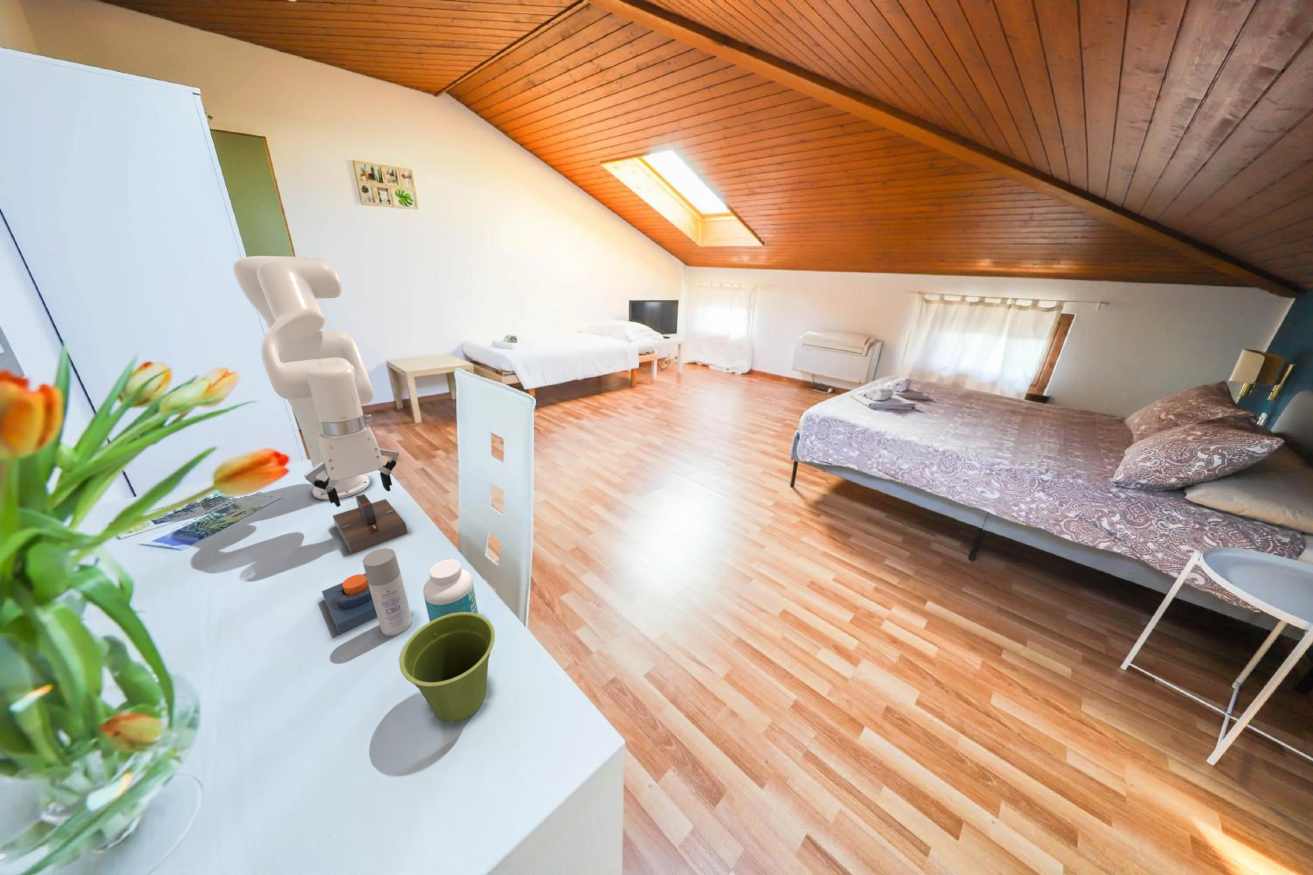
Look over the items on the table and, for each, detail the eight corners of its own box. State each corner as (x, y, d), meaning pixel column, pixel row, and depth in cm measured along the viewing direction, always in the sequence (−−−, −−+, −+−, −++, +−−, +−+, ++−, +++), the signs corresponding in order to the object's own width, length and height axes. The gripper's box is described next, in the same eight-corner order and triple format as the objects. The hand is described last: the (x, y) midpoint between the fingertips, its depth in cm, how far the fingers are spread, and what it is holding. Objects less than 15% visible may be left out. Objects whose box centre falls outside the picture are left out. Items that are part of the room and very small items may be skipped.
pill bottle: (485, 633, 74) (476, 571, 69) (439, 655, 70) (425, 591, 64) (472, 607, 79) (462, 548, 74) (428, 626, 75) (414, 564, 70)
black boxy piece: (360, 514, 99) (355, 495, 97) (369, 512, 101) (364, 492, 99) (367, 526, 96) (362, 506, 94) (377, 522, 97) (371, 503, 95)
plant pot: (395, 722, 60) (377, 665, 55) (458, 655, 70) (448, 602, 65) (462, 756, 56) (449, 698, 52) (519, 679, 66) (512, 626, 62)
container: (393, 640, 72) (374, 569, 66) (375, 630, 74) (355, 560, 68) (418, 621, 76) (402, 552, 70) (400, 611, 78) (383, 544, 72)
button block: (324, 600, 79) (318, 583, 78) (379, 577, 85) (375, 561, 84) (339, 635, 72) (333, 617, 71) (398, 607, 79) (393, 590, 77)
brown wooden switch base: (335, 526, 100) (332, 514, 99) (388, 509, 107) (385, 498, 106) (352, 554, 91) (348, 542, 90) (407, 533, 99) (405, 522, 97)
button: (342, 588, 77) (339, 580, 77) (365, 578, 80) (363, 571, 79) (347, 598, 75) (345, 591, 75) (370, 588, 78) (368, 581, 77)
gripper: (384, 411, 97) (399, 478, 104) (287, 430, 85) (311, 504, 92) (395, 420, 92) (410, 489, 99) (294, 441, 81) (319, 518, 87)
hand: (363, 496), depth 95 cm, fingers open, 9 cm apart
